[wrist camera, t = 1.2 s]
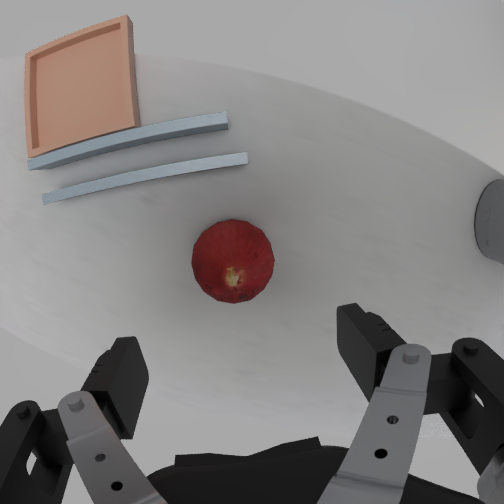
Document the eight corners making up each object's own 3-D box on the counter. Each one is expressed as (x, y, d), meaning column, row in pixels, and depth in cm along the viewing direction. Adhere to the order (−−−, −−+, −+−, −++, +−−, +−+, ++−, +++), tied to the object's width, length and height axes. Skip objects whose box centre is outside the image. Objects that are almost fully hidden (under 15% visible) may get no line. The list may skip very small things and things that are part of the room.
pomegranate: (273, 273, 27) (291, 315, 19) (206, 288, 27) (200, 335, 19) (259, 205, 25) (273, 223, 18) (189, 222, 25) (172, 246, 17)
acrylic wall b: (226, 119, 23) (226, 111, 20) (227, 128, 23) (228, 122, 20) (48, 160, 23) (27, 160, 19) (49, 168, 23) (28, 170, 19)
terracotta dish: (132, 22, 20) (127, 14, 18) (140, 128, 23) (134, 125, 21) (35, 58, 20) (25, 53, 18) (38, 158, 22) (28, 158, 21)
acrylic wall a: (244, 154, 24) (246, 151, 21) (245, 164, 24) (248, 163, 21) (61, 190, 23) (41, 194, 20) (63, 199, 24) (43, 204, 20)
